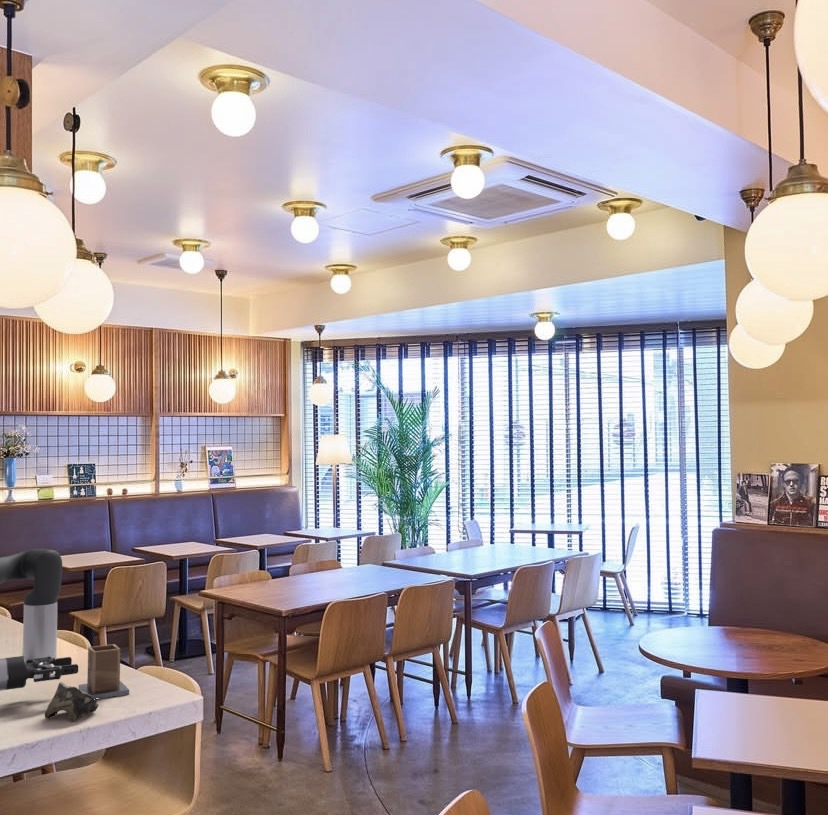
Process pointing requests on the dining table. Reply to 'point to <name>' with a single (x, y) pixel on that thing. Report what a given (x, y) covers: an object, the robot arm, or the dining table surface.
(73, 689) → the fossil
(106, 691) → the post plate
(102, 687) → the walnut sleeve
